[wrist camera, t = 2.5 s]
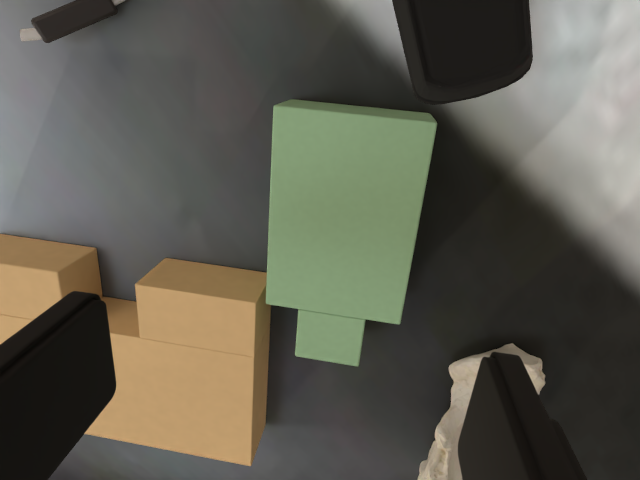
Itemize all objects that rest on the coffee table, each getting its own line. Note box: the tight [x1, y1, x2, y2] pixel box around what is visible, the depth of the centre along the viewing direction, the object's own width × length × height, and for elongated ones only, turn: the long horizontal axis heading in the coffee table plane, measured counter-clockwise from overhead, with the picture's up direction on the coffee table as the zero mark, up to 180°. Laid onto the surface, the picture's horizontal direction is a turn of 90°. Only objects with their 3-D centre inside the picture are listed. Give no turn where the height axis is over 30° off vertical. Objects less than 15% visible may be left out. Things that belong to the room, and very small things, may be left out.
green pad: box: [266, 99, 437, 366], centre depth 22 cm, size 7×13×4 cm, turn 175°
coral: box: [418, 343, 545, 480], centre depth 25 cm, size 6×10×4 cm, turn 170°
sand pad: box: [0, 234, 271, 466], centre depth 27 cm, size 18×12×4 cm, turn 85°
